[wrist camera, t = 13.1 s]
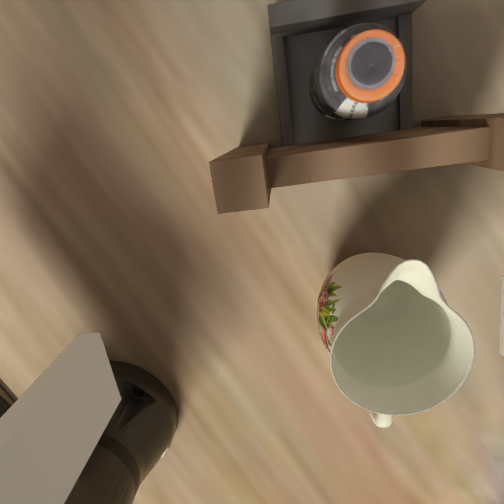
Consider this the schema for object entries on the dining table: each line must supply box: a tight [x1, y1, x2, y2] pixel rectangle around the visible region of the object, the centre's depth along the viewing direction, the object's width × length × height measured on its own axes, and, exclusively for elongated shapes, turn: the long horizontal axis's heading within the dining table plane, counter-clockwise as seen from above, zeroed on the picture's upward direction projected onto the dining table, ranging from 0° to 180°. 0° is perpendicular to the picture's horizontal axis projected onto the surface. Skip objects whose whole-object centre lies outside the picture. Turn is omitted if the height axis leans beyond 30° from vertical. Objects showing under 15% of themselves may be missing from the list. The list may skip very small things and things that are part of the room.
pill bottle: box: [309, 23, 407, 120], centre depth 28 cm, size 6×6×11 cm
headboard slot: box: [209, 0, 504, 214], centre depth 27 cm, size 20×13×16 cm, turn 98°
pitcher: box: [317, 252, 475, 427], centre depth 34 cm, size 11×18×14 cm, turn 3°
